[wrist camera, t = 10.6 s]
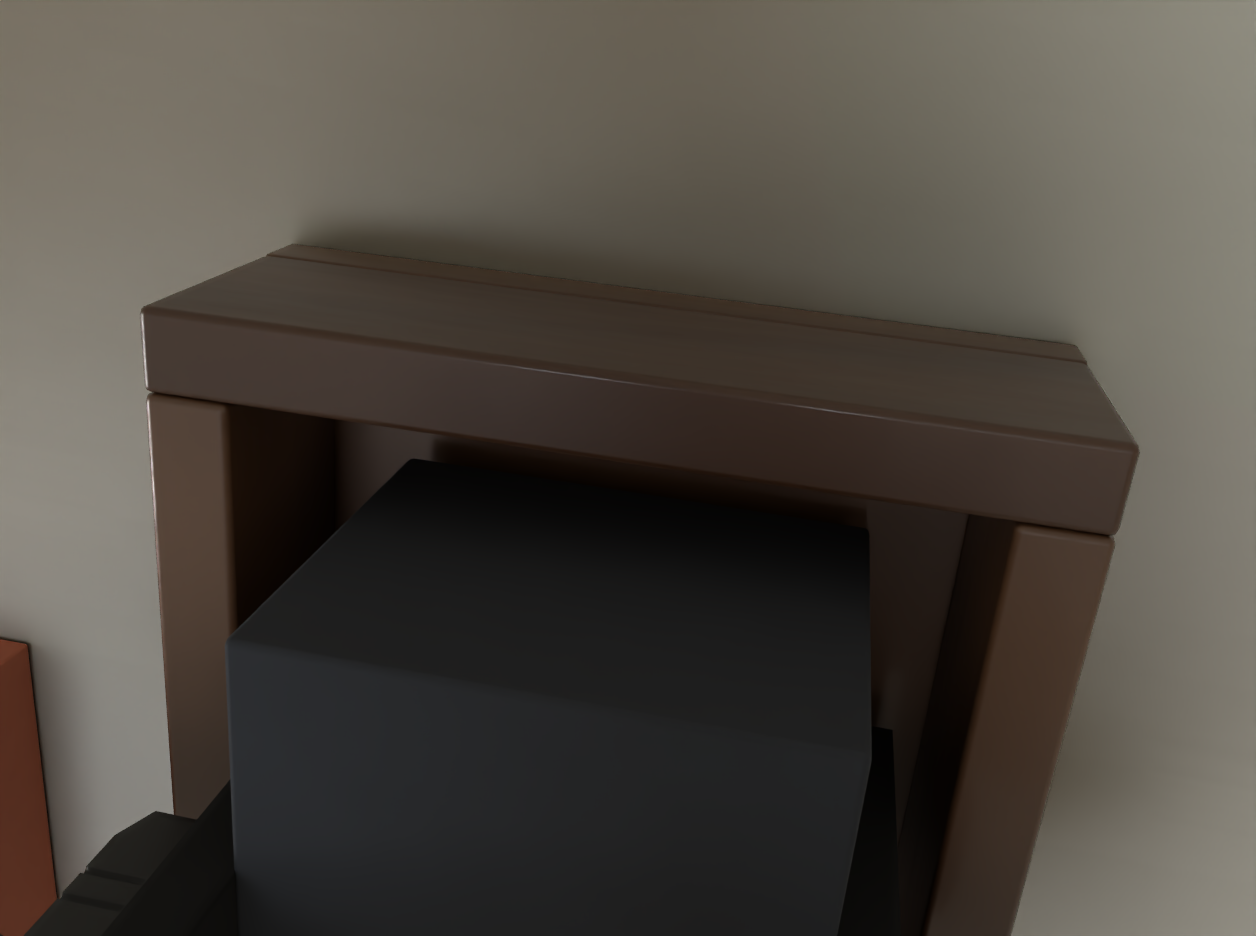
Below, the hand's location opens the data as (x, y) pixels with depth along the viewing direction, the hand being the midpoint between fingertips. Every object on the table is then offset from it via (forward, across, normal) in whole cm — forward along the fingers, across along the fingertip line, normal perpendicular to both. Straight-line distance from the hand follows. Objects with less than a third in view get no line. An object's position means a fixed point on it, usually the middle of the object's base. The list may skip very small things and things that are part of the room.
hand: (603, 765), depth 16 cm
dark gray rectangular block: (0, 0, 0) cm, 0 cm away
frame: (+2, 0, 0) cm, 2 cm away
